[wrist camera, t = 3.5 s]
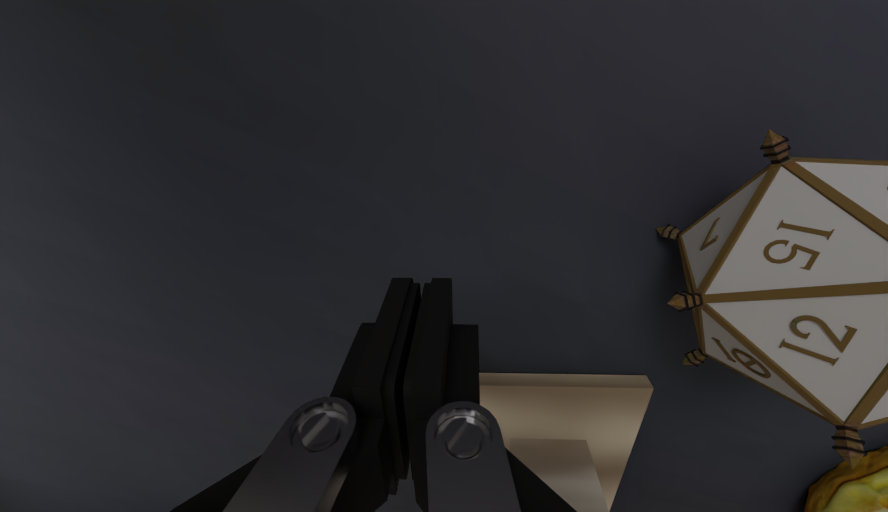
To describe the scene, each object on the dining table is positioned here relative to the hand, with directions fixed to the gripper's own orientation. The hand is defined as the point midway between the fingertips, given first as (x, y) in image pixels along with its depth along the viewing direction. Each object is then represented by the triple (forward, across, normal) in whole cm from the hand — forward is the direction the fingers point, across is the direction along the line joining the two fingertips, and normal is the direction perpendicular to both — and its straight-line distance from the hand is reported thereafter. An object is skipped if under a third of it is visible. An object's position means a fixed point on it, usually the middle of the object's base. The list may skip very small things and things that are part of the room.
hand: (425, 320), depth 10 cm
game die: (+5, -12, -1) cm, 13 cm away
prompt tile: (+5, -6, +13) cm, 15 cm away
